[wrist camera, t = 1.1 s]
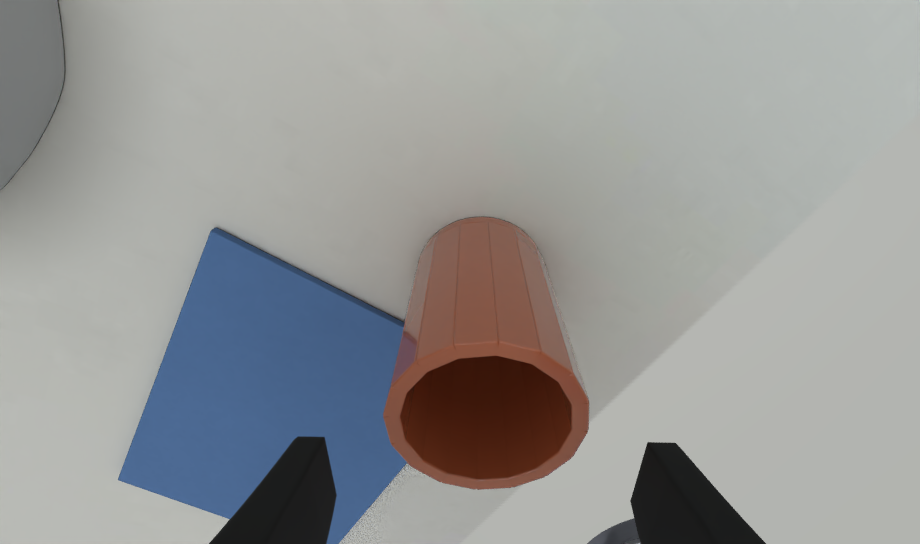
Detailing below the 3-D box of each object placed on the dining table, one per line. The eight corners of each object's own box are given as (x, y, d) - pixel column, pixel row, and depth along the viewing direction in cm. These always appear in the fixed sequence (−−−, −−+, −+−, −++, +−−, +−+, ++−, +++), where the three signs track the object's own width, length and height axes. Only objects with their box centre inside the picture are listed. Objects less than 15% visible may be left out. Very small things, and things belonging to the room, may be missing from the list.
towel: (215, 226, 18) (210, 230, 17) (486, 363, 21) (486, 369, 20) (122, 474, 25) (117, 480, 25) (331, 547, 28) (329, 554, 28)
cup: (563, 297, 19) (618, 453, 12) (456, 343, 20) (448, 509, 13) (509, 192, 17) (537, 308, 10) (392, 252, 18) (343, 392, 11)
